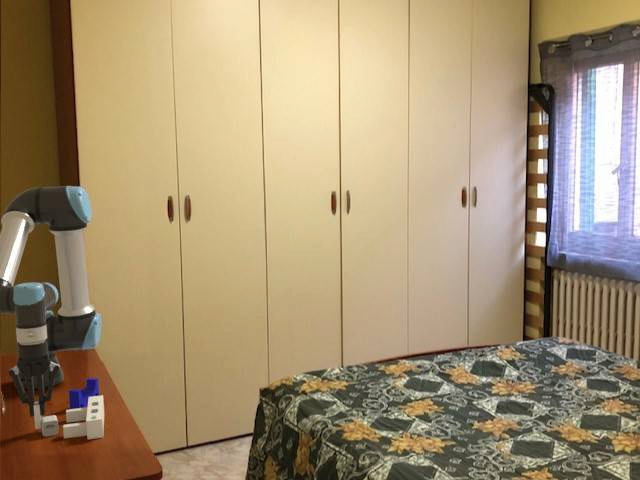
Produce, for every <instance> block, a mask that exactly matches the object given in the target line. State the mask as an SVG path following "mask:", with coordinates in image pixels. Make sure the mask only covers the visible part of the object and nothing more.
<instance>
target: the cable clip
mask: <svg viewBox="0 0 640 480" xmlns="http://www.w3.org/2000/svg"><path fill="white" fill-rule="evenodd" d="M99 389H100V388H99V378H93V377H92V378H91V377H90V378H89V377H88V378H87V379H86V385H85V387H83V388H82V389H74V388H73V389H70V390H68V399H69V409H77V408H85V407H88V398H89V397H93V396H100V390H99Z"/></svg>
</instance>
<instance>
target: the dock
mask: <svg viewBox="0 0 640 480" xmlns="http://www.w3.org/2000/svg"><path fill="white" fill-rule="evenodd" d="M65 411H66V412H65V416H66V423H67V424H63V426H62V431H63V439H71V438H78V437H85V436H86V438H87V440H93V439H100V438H101V439H103V438H104V434H105V433H104V429H105V428H104V427H105V404H104V395H103V394H102V395H99V396H93V397H89V398H88V405H87V406H86V407H84V408H77V409H70V408H69V409H66V410H65ZM81 421H84V422H81ZM73 422H75V423H73Z"/></svg>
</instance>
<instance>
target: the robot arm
mask: <svg viewBox="0 0 640 480" xmlns="http://www.w3.org/2000/svg"><path fill="white" fill-rule="evenodd" d="M92 212H93V211H92V204H91V201H90V198H89V195H88V192H87V191H86V189H84V188H83V187H82V186H74V185H73V186H71V185H64V186H62V185H59V186H44V187H43V186H42V187H39V186H38V187H31V188H28V189H26V190H24V191H22V192H20V193H19V194H18V195H16V196H15V197H14V198H13V199H12V200H11V201H10V202H9V204H8V205H7V206H6V208H5V210H4V211H3V213H2V216H1V220H0V223H1V225H2V228H1V231H0V315H1V314H3V315H4V314H14V316H15V317H14V319H15V336H16V346H17V362H16V365H15V366H13V367H11V368H9V370H8V372H7V373H8V375H9V376H10V377H11V378H12V380H13V382H14V383H13V384H14V387H15V388H16V391H17V394H18V397H19V400H20V402H21V403H22V405H24V404H25V405H28V407H29V408H28V409H29V416H30V418H31V417H34V429H35V430H40V429H41V430H42V428H41V418H42V416H45V414H46V404H45V403H47V402H50V401H51V399H52V396H53V391H54V386H56V385H59V384H60V383H62V382H63V381H64V371H63V369H62V367H61V365H60V362H59V360H58V358H57V352H61V351H79V350H80V351H84V350H91V349H95V348H96V347H97V346H98V344H99V342H100V340H101V339H100V338H101V335H102V328H103V327H102V326H103V323H102V321H103V320H102V314H101V313H99V312H96V309H95V306H94V305H92V303H90V295H89V284H88V274H87V264H86V261H87V260H86V253H85V252H86V251H85V242H84V232H85V230H86V229H87V228H88V223H90V222H91V221H92V218H93V215H92ZM36 225H48V231H49V232H50V233H51V234H53V235H54V241H55V242H54V243H55V251H56V261H57V269H58V270H57V271H58V280H59V281H58V282H59V288H60V289H59V290H60V291H58V289H57V288H56V286H55V285H53V284H52V283H50V282H34V281H33V282H23V283H20V284H16V285H14V284H15V280H16V277H17V274H18V271H19V267H20V264H21V260H22V258H23V257H22V256H23V253H24V250H25V247H26V243H27V240H28V237H29V234H30V233H32V232H33V230H34V229H35V226H36ZM59 292H60V298H61V299H60V301H61V307H60V308H59V310H58V311H57V315H54V314H55V313H54V312H53V310H51V309H52V308H54V306H55V305H56V304H57V302H58V300H59ZM45 388H47V392H46V395H45ZM26 390H27V393H26ZM35 390H37V393H38V401H36V400H35V399H36V398H35ZM35 401H36V402H35Z"/></svg>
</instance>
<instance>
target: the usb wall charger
mask: <svg viewBox="0 0 640 480" xmlns="http://www.w3.org/2000/svg"><path fill="white" fill-rule="evenodd" d="M59 432H60V431H59V421H58V417H57V415H55V414H52V415H47V416H41V433H42V436H43V437H51V436H52V437H53V436H57V435H58V434H59Z"/></svg>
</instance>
